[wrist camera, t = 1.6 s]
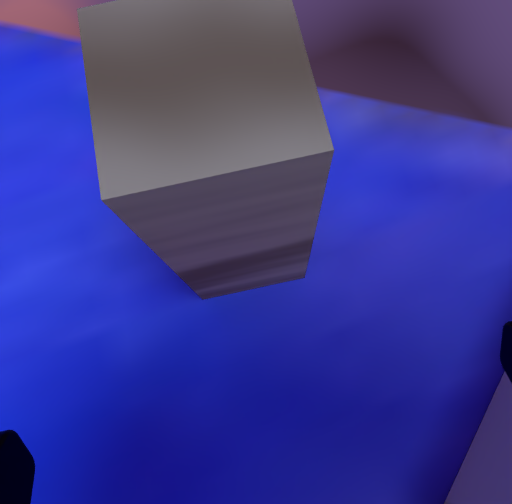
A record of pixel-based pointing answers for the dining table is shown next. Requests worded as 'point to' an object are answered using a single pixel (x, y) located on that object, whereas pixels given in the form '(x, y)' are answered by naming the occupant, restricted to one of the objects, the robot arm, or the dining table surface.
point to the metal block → (208, 135)
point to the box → (488, 456)
